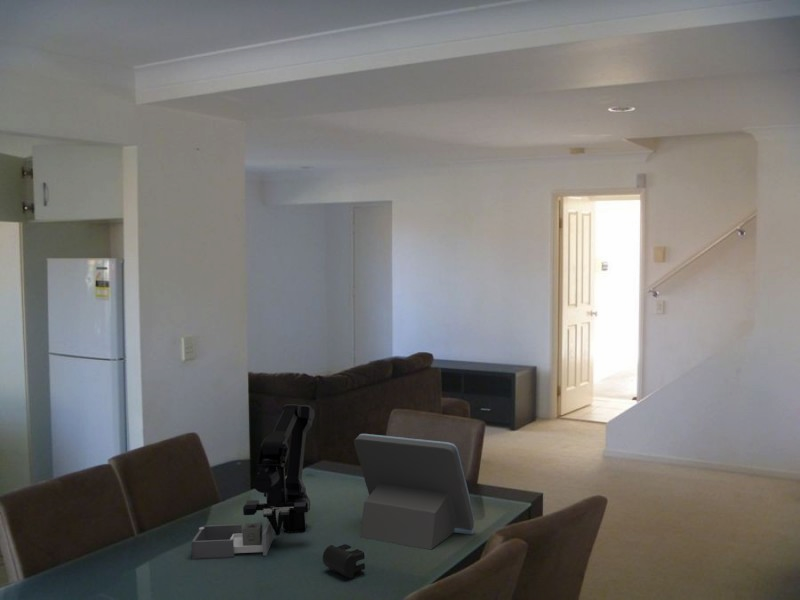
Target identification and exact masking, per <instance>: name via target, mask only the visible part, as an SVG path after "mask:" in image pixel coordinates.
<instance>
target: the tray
mask: <svg viewBox="0 0 800 600" xmlns="http://www.w3.org/2000/svg"><path fill="white" fill-rule="evenodd" d="M230 539H234V553H236V554H245V553H246V554H247V553H262V555H263V556H264V557H265V556H267V555H268V553H269V550H270V548H271V546H272V545H271V544H272V543H273V541H274V529H273V527H272V525H271V523H270V522H269V520H268V519H267V521H266V524H265V526H264V528H263V529H262V542H261V545H252V546H243V536H242V533H239V534H233V535H232V537H231V538H230Z"/></svg>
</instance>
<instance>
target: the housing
mask: <svg viewBox="0 0 800 600" xmlns="http://www.w3.org/2000/svg"><path fill="white" fill-rule="evenodd" d="M242 529H243V524H242V523H239V524H237V523H236V524H217V525H215V524H214V525H211V524H210V525H202V526H201V527H198V531H197V533H196V535H195V536H194V538H193V539H192V540H191V543H190V544H191V557H192V558H191V560H207V559H208V560H211V559H228V558H229V559H230V558H231V559H232V558H233V559H234V558H235V556H236V554H237V553H234V539H230V538H231V537H232V535H233V534H239V533H242Z"/></svg>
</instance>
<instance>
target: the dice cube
mask: <svg viewBox="0 0 800 600" xmlns="http://www.w3.org/2000/svg"><path fill="white" fill-rule="evenodd" d="M262 532H263V522H251V523H250V522H248V523H244V525H243V526H242V536H243V546H252V545H261V542H262Z"/></svg>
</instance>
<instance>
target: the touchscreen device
mask: <svg viewBox="0 0 800 600" xmlns="http://www.w3.org/2000/svg"><path fill="white" fill-rule="evenodd" d="M353 444H354V445H353V446H354V448H355V452H356V455H357V459H358V461H359V462H358V463H359V466H360V469H361V471H362V474H363V478H364V482H365V486H366V488H367V492H368V495H369V496H367V498H366V499H365V500H364V502H363V508H362V517H361V526H360V531H359V532H360V533H359V536H360V538H364V539H367V540H374V541H379V542H384V543H390V544H396V545H402V546H404V547H405V546H406V547H411V548H417V549H421V550H422V549H423V550H428V551H429V550H430V551H431V550H432V549H434V548H435V547H437V546H438V545H439V544H440V543H441V542H443V541H444V540H445V539H447V538H448V537H450V536H451V535H452V534H455V533H457V534H464V535H473V534H474V532H475V518H474V513H473V511H474V510H473V507H472V503H471V498H470V493H469V489H468V484H467V480H466V477H465V473H464V468H463V464H462V460H461V456H460V452H459V449H458V447H457V446H456V444H454V443H452V442H448V441H438V440H428V439H420V438H418V439H417V438H410V437H409V438H408V437H399V436H391V435H380V434H371V433H370V434H369V433H359V435H357V437H356V438H355V439H354V440H353Z"/></svg>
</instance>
